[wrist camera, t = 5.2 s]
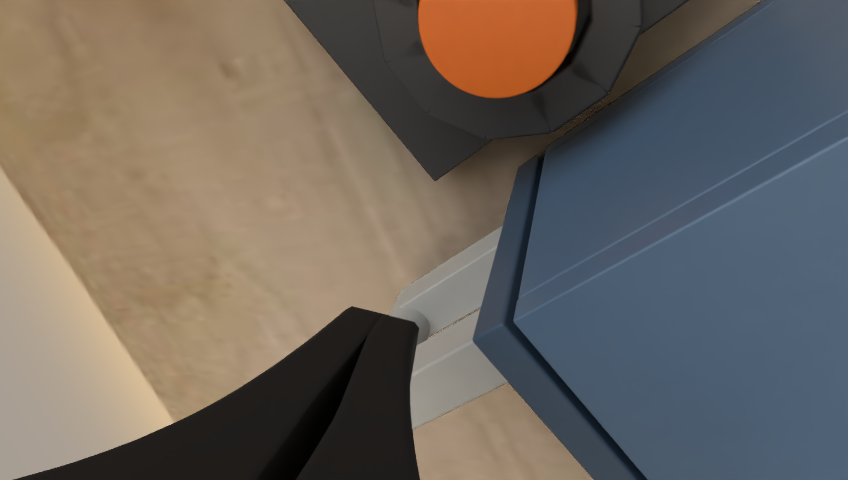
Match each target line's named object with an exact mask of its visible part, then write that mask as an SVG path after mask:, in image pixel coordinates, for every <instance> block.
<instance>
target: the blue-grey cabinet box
mask: <svg viewBox="0 0 848 480" xmlns="http://www.w3.org/2000/svg"><path fill="white" fill-rule="evenodd" d="M518 297H519V299H518V300H517V304H516V309H515V314H514V320H513V321H514V323H515V324H516V325H517V327H518V328H519V329H520V330H521V331H522V333H523V334H524V335H525V336H526V337H527V338H528V340H529V341H530V342H531V343H532V344H533V345H534V347H535V348H536V349H537V350H538V351H539V353H540V354H541V355H542V356H543V357H544V358H545V360H546V361H547V362H548V363H549V364H550V365H551V367H552V368H553V369H554V370H555V371H556V373H557V374H558V375H559V376H560V377H561V378H562V380H563V381H564V382H565V383H566V384H567V385H568V387H569V388H570V389H571V390H572V391H573V392H574V394H575V395H576V396H577V397H578V398H579V400H580V401H581V402H582V403H583V404H584V405H585V407H586V408H587V409H588V410H589V411H590V412H591V414H592V415H593V416H594V417H595V418H596V420H597V421H598V422H599V423H600V424H601V425H602V427H603V428H604V429H605V430H606V431H607V432H608V434H609V435H610V436H611V437H612V438H613V440H614V441H615V442H616V443H617V444H618V445H619V447H620V448H621V449H622V450H623V451H624V452H625V454H626V455H627V456H628V457H629V458H630V459H631V461H632V462H633V463H634V464H635V465H636V467H637V468H638V469H639V470H640V471H641V472H642V474H643V475H644V476H645V477H646V478H647V479H648V480H848V0H763V1H761V2H760V3H758V4H757V5H755V6H754V7H752V8H751V9H749V10H748V11H747V12H745V13H744V14H742V15H741V16H739V17H738V18H736V19H735V20H733V21H732V22H730V23H729V24H727V25H726V26H724V27H723V28H721V29H720V30H718V31H717V32H716V33H714V34H713V35H711V36H710V37H708V38H707V39H705V40H704V41H702V42H701V43H699V44H698V45H696V46H695V47H693V48H692V49H690V50H689V51H687V52H686V53H685V54H683V55H682V56H680V57H679V58H677V59H676V60H674V61H673V62H671V63H670V64H668V65H667V66H665V67H664V68H662V69H661V70H659V71H658V72H656V73H655V74H654V75H652V76H651V77H649V78H648V79H646V80H645V81H643V82H642V83H640V84H639V85H637V86H636V87H634V88H633V89H631V90H630V91H628V92H627V93H625V94H624V95H623V96H621V97H620V98H618V99H617V100H615V101H614V102H612V103H611V104H609V105H608V106H606V107H605V108H603V109H602V110H600V111H599V112H597V113H596V114H594V115H593V116H591V117H590V118H589V119H587V120H586V121H584V122H583V123H581V124H580V125H578V126H577V127H575V128H574V129H572V130H571V131H569V132H568V133H566V134H565V135H563V136H562V137H560V138H559V139H558V140H556V141H555V142H553V143H552V144H550V145H549V146H547V147H546V151H545V157H544V162H543V168H542V173H541V178H540V184H539V189H538V194H537V200H536V205H535V211H534V216H533V221H532V227H531V232H530V237H529V243H528V248H527V253H526V259H525V264H524V270H523V275H522V280H521V286H520V291H519V296H518Z"/></svg>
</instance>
